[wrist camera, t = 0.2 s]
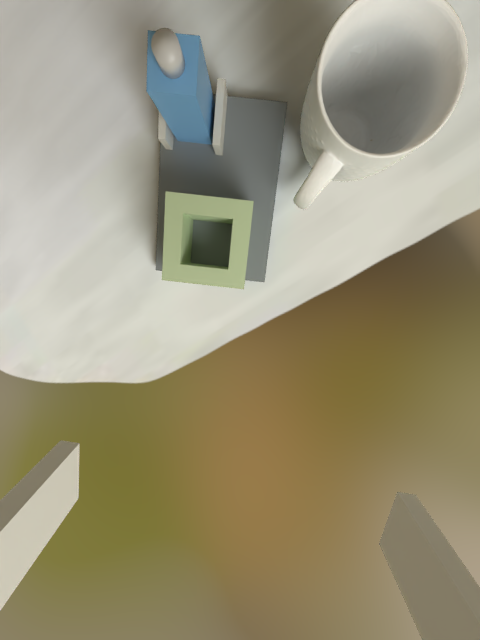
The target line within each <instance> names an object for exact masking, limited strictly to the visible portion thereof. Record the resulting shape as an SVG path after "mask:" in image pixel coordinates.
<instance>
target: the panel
mask: <svg viewBox="0 0 480 640" xmlns="http://www.w3.org/2000/svg"><path fill="white" fill-rule="evenodd" d="M213 98H214V102H215V113H214V127H213V140H212V145H210V144H201V143H192V142H182V141H177V139H176V137H175V136H174V134H173V133H172V131H171V129H170V128H169V126H168V125H167V123H166V121H165V120H164V118H163V117H162V115H161V113H160V112H159V121H158V140H159V141H160V168H159V196H158V224H157V251H156V270H159V271H162V265H163V241H164V217H165V193H166V191H167V192H176V193H185V194H194V195H203V196H212V197H221V198H230V199H239V200H248V201H254V203H253V213H252V222H251V231H250V240H249V248H248V257H247V266H246V275H245V280H249V281H258V282H264V281H265V274H266V266H267V258H268V250H269V242H270V235H271V227H272V219H273V211H274V203H275V196H276V188H277V180H278V172H279V164H280V157H281V149H282V141H283V133H284V125H285V118H286V110H287V102H279V101H270V100H261V99H252V98H242V97H233V96H227V88H226V81H225V79H219V78H217V90H216V95H215V94H213ZM232 225H233V224H227V223H218V222H209V221H200V220H193V234H192V249H191V263H197V264H206V265H215V266H224V267H229V256H230V246H231V236H232Z"/></svg>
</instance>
